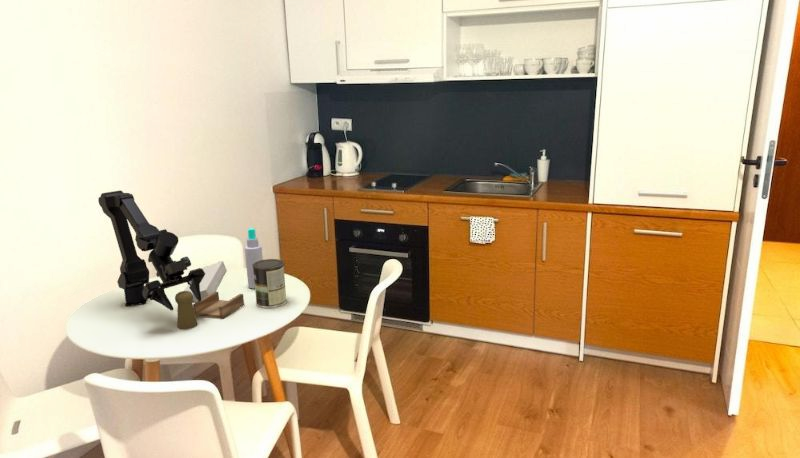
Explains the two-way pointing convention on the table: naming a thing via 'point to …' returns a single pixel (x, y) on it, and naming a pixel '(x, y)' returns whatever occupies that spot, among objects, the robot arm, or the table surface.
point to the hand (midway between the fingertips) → (186, 305)
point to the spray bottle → (252, 255)
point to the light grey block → (210, 279)
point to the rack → (217, 306)
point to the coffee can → (269, 283)
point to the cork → (185, 311)
